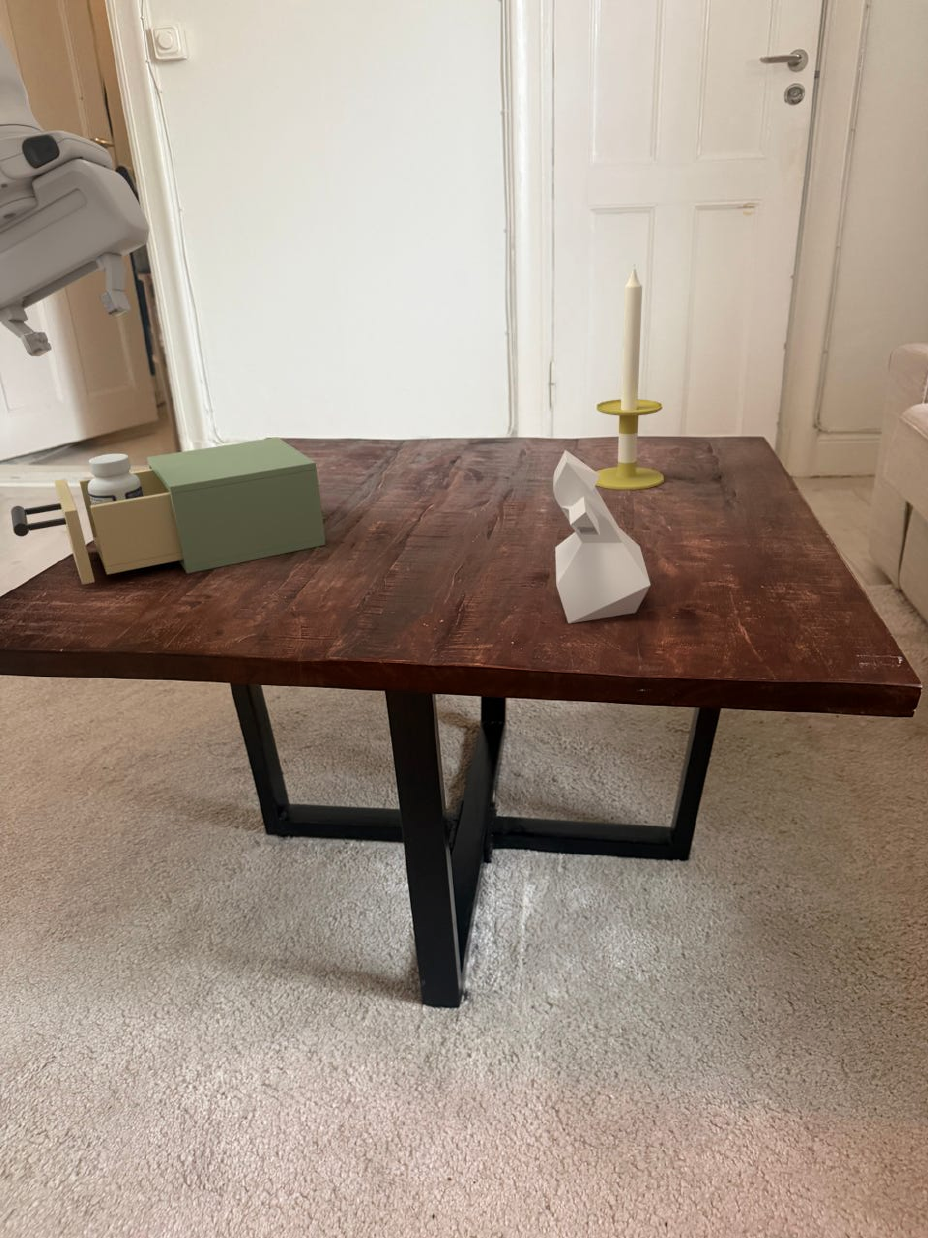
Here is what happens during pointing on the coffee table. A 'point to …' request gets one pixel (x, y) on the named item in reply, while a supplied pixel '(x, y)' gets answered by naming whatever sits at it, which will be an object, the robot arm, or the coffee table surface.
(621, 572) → the faceted knight figurine
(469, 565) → the coffee table surface
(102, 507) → the drawer
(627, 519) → the coffee table surface
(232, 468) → the cabinet
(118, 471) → the pill bottle
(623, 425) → the candle
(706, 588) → the coffee table surface
